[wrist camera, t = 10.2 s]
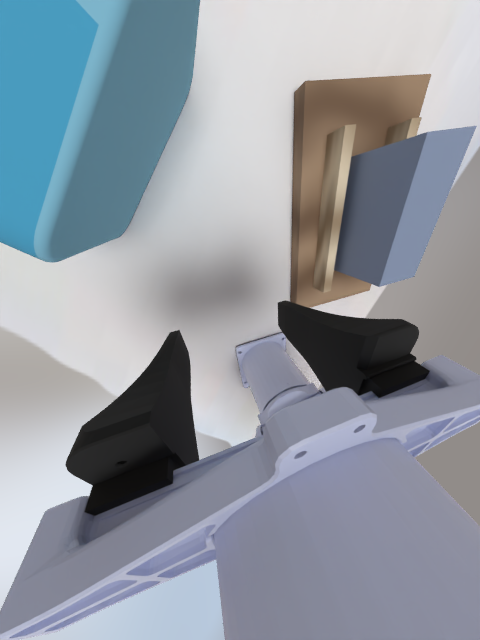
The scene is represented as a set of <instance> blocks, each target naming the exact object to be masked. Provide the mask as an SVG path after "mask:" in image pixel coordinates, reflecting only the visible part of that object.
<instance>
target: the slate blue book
mask: <svg viewBox="0 0 480 640" xmlns="http://www.w3.org/2000/svg"><path fill="white" fill-rule="evenodd" d="M475 129H476V126H472V127H464V128H456V129H448V130H440V131H432V132H426V133H423V134H420V135H417V136H414V137H411V138H408V139H405V140H402V141H399V142H396V143H392V144H389V145H386V146H383V147H380V148H377V149H374V150H371V151H368V152H365V153H362V154H359V155H355V156H352V157H351V162H350V169H349V175H348V181H347V188H346V194H345V201H344V207H343V214H342V220H341V227H340V233H339V240H338V246H337V253H336V259H335V266H334V270H335V271H338V272H341V273H343V274H346V275H349V276H351V277H354V278H357V279H360V280H362V281H365V282H368V283H370V284H373V285H376V286H378V287H380V286H384V285H387V284H391V283H394V282H397V281H401V280H404V279H407V278H411V277H414V275H415V273H416V271H417V268H418V266H419V263H420V261H421V258H422V256H423V254H424V251H425V249H426V247H427V244H428V242H429V239H430V237H431V234H432V232H433V230H434V227H435V225H436V222H437V220H438V218H439V215H440V213H441V210H442V208H443V206H444V203H445V201H446V198H447V196H448V194H449V191H450V189H451V186H452V184H453V182H454V179H455V177H456V174H457V172H458V170H459V167H460V165H461V162H462V160H463V158H464V155H465V153H466V150H467V148H468V146H469V143H470V141H471V138H472V136H473V133H474V131H475Z"/></svg>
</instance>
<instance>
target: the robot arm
mask: <svg viewBox="0 0 480 640" xmlns="http://www.w3.org/2000/svg"><path fill="white" fill-rule="evenodd" d="M278 325H279V327H280V329H281V330H282V332H283V333H279V334H276V335H273V336H270V337H266V338H263V339H260V340H257V341H253V342H250V343H247V344H244V345H240V346H238V347H236V354H237V359H238V363H239V368H240V373H241V378H242V383H243V387H244V388H248V387H250V388H251V391H252V393H253V396H254V398H255V401H256V403H257V406H258V408H259V411H260V413H261V414H259V415H258V418H259V420H260V423H261V425H260V426H258V427H257V429H256V436H255V438H253V439H251V440H248V441H246V442H243V443H241V444H238V445H236V446H233V447H231V448H229V449H226V450H223V451H221V452H219V453H216V454H214V455H211V456H209V457H206V458H204V459H201V460H199V455H198V449H197V443H196V436H195V429H194V421H193V413H192V405H191V373H190V359H189V352H188V350H187V347H186V345H185V343H184V340H183V338H182V335H181V333H180V330H178V331H174V332H170V334H169V335H168V337H167V338H166V340H165V342H164V344H163V345H162V347H161V349H160V350H159V352H158V353H157V355H156V356H155V358H154V359H153V360H152V362H151V363H150V365H149V366H148V367H147V368H146V370H145V371H144V372H143V373H142V374H141V375H140V377H139V378H138V379H137V380H136V381H135V382H134V383H133V384H132V385H131V386H130V387H129V388H128V389H127V390H126V391H125V392H124V393H123V394H122V395H120V396H119V397H118V398H117V399H116V400H115V401H114V402H112V403H111V404H110V405H109V406H108V407H107V408H105V409H104V410H103V411H101V412H100V413H99V414H98V415H96V416H95V417H94V418H92V419H91V420H90V421H88V422H87V423H86V424H84V425H83V426H82V428H81V430H80V432H79V434H78V436H77V438H76V441H75V443H74V445H73V447H72V449H71V452H70V454H69V456H68V458H67V461H66V467H67V470H68V471H69V472H70V473H71V474H73V475H74V476H76V477H78V478H80V479H82V480H84V481H85V482H87V483H89V484H91V485H93V487H92V490H91V493H90V496H83V497H79V498H76V499H73V500H71V501H68V502H65V503H63V504H60V505H58V506H55V507H53V508H50V509H48V510H47V511H45V513H44V515H43V517H42V519H41V522H40V524H39V526H38V528H37V530H36V533H35V535H34V537H33V539H32V542H31V544H30V546H29V548H28V551H27V553H26V555H25V557H24V560H23V562H22V564H21V566H20V569H19V571H18V573H17V575H16V577H15V580H14V582H13V584H12V586H11V588H10V591H9V593H8V595H7V597H6V599H5V602H4V604H3V606H2V608H1V611H0V640H19V639H24V638H29V637H34V636H39V635H44V634H49V633H54V632H57V631H60V630H61V629H64V628H66V627H68V626H70V625H72V624H74V623H76V622H78V621H80V620H82V619H84V618H86V617H88V616H90V615H92V614H95V613H96V612H99V611H101V610H103V609H105V608H107V607H110V606H112V605H114V604H116V603H118V602H121V601H123V600H125V599H127V598H129V597H132V596H134V595H136V594H138V593H141V592H143V591H145V590H148V589H150V588H152V587H154V586H157V585H159V584H161V583H164V582H166V581H168V580H170V579H173V578H175V577H177V576H180V575H182V574H184V573H187V572H189V571H191V570H193V569H196V568H198V567H200V566H203V565H205V564H207V563H209V562H212V561H214V560H217V569H218V579H219V587H220V597H221V606H222V616H223V625H224V635H225V640H480V526H479V525H478V524H477V523H476V522H475V521H474V520H473V519H472V518H471V517H470V516H469V515H468V514H467V512H465V510H464V509H463V508H462V507H461V506H460V505H459V504H458V503H457V502H456V501H455V500H454V499H453V498H452V497H451V496H450V495H449V494H448V493H447V492H446V491H445V490H444V488H443V487H442V486H441V485H440V484H439V483H438V482H437V481H436V480H435V479H434V478H433V477H432V476H431V475H430V474H429V473H428V472H427V471H426V470H425V468H424V467H422V465H421V464H420V463H419V462H418V461H417V460H416V459H415V457H416V456H418V455H420V454H422V453H423V452H425V451H427V450H428V449H430V448H432V447H434V446H435V445H437V444H439V443H441V442H443V441H444V440H446V439H448V438H449V437H451V436H453V435H455V434H457V433H459V432H461V431H463V430H465V429H467V428H468V427H470V426H472V425H474V424H476V423H478V422H479V421H480V375H478V374H477V373H475V372H473V371H471V370H469V369H467V368H466V367H464V366H462V365H460V364H458V363H456V362H454V361H452V360H450V359H449V358H447V357H445V356H443V355H439V356H437V357H434V358H432V359H429V360H427V361H425V362H423V363H422V364H421V365H420V364H418V363H416V362H415V360H416V357H415V356H413V355H412V354H410V352H411V350H412V348H413V347H414V345H415V343H416V341H417V339H418V335H419V330H418V327H416V326H415V325H413V324H411V323H409V322H407V321H404V320H402V319H366V318H355V317H347V316H340V315H335V314H330V313H326V312H322V311H318V310H315V309H311V308H308V307H305V306H302V305H299V304H296V303H292V302H289V301H282V302H279V303H278ZM282 338H283V339H282ZM286 338H287V339H288V340H289V341H290V342H291V343H292V345H293V346H294V347H295V348H296V349H297V350H298V352H299V353H300V354H301V355H302V356H303V357H304V359H305V360H306V361H307V363H308V364H309V366H310V367H311V369H312V370H313V371H314V373H315V375H316V376H317V378H318V379H319V381H320V382H321V384H322V386H323V387H324V388H321V389H320V390H318V389H317V388H316V386H315V385H314V384H313V383H311V384H310V383H309V382H308V380H307V379H306V378H305V376H304V375H303V374H302V372H301V371H300V370H299V368H298V367H297V366H296V365H295V363H294V362H293V361H292V359H291V358H290V357H289V355H288V354H287V353H286ZM239 351H240V352H239Z"/></svg>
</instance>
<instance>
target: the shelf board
mask: <svg viewBox="0 0 480 640" xmlns="http://www.w3.org/2000/svg"><path fill="white" fill-rule="evenodd" d="M430 77H431V74H423V75H405V76H387V77H369V78H351V79H333V80H316V81H305V82H304V83H303V84H302V85H301V86H300V87H299V88H298V89H297V90H296V91H295V95H294V147H293V199H292V251H291V302H292V303H296V304H299V305H302V306H305V307H308V308H310V307H314V306H317V305H320V304H324V303H327V302H331V301H334V300H338V299H341V298H345V297H348V296H351V295H355V294H358V293H362V292H365V291H369V290H370V287H371V284H370V283H368V282H365V281H362V280H360V279H357V278H354V277H351V276H349V275H346V274H343V273H341V272H338V271H335V270H334V266H335V259H336V253H337V246H338V240H339V233H340V227H341V220H342V214H343V207H344V201H345V194H346V188H347V181H348V175H349V169H350V162H351V157H352V156H355V155H359V154H362V153H365V152H368V151H371V150H374V149H377V148H380V147H383V146H386V145H389V144H392V143H396V142H399V141H402V140H405V139H408V138H411V137H414V136H416V135H417V131H418V128H419V124H420V121H421V117H419V115H420V112H421V108H422V105H423V101H424V98H425V94H426V91H427V87H428V84H429V80H430Z"/></svg>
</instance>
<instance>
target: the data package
mask: <svg viewBox="0 0 480 640" xmlns="http://www.w3.org/2000/svg"><path fill="white" fill-rule="evenodd" d="M199 6H200V0H0V242H1V243H4V244H6V245H8V246H10V247H13V248H15V249H17V250H20V251H22V252H24V253H27V254H29V255H31V256H33V257H36V258H38V259H40V260H43V261H46V262H58V261H61V260H64V259H66V258H69V257H71V256H73V255H76V254H78V253H81V252H83V251H86V250H88V249H91V248H93V247H96V246H98V245H101V244H103V243H105V242H108V241H110V240H113V239H115V238H118V237H120V236H121V235H122V234H123V233H124V231H125V230H126V228H127V227H128V225H129V223H130V221H131V219H132V217H133V215H134V213H135V210H136V208H137V206H138V204H139V202H140V200H141V197H142V195H143V193H144V191H145V189H146V187H147V184H148V182H149V180H150V178H151V176H152V174H153V171H154V169H155V167H156V165H157V163H158V161H159V158H160V156H161V154H162V152H163V150H164V148H165V145H166V143H167V141H168V139H169V137H170V135H171V132H172V130H173V128H174V126H175V124H176V122H177V119H178V117H179V115H180V113H181V111H182V108H183V106H184V104H185V101H186V98H187V96H188V93H189V90H190V86H191V82H192V77H193V67H194V57H195V47H196V36H197V26H198V16H199Z"/></svg>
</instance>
